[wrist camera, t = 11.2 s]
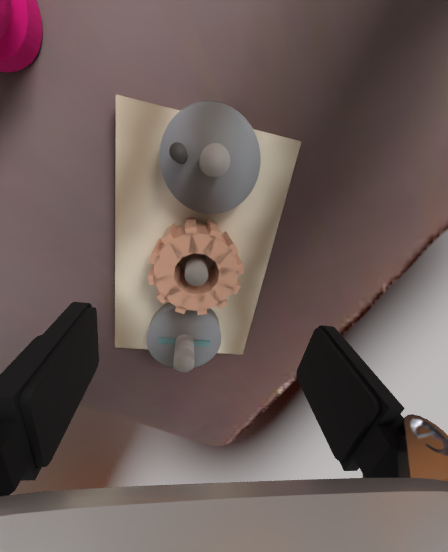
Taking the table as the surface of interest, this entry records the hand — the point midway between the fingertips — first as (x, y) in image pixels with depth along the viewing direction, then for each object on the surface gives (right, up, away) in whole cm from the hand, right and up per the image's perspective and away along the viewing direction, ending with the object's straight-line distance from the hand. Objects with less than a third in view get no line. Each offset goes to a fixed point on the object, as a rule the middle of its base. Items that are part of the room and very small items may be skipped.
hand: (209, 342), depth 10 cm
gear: (-2, +5, +11) cm, 12 cm away
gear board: (-2, +5, +13) cm, 14 cm away
